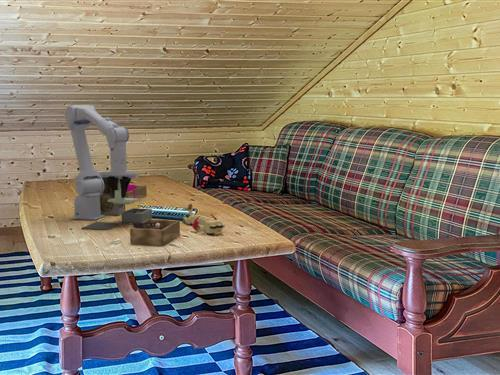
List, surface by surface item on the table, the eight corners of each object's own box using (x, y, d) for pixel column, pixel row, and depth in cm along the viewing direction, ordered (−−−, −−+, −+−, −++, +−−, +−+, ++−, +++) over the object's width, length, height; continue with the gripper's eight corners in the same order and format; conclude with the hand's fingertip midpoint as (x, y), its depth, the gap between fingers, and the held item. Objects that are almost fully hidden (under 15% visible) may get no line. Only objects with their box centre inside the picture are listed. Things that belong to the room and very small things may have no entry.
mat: (81, 229, 221) (81, 227, 221) (95, 222, 231) (95, 221, 231) (107, 230, 219) (107, 229, 218) (120, 223, 229) (120, 222, 229)
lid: (106, 203, 225) (106, 190, 225) (119, 201, 236) (119, 188, 235) (128, 204, 223) (128, 190, 223) (140, 202, 234) (140, 189, 234)
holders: (121, 248, 193) (120, 233, 192) (99, 196, 290) (98, 186, 290) (188, 243, 199) (188, 228, 198) (144, 194, 297) (144, 183, 296)
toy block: (115, 196, 288) (114, 181, 286) (128, 196, 290) (128, 180, 289) (121, 202, 274) (120, 185, 273) (135, 201, 276) (134, 184, 275)
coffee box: (126, 212, 251) (124, 173, 249) (118, 215, 245) (117, 175, 242) (105, 211, 253) (104, 172, 251) (98, 214, 247) (96, 174, 245)
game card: (132, 222, 200) (160, 222, 200) (134, 224, 205) (161, 224, 206) (132, 243, 199) (160, 242, 199) (134, 244, 204) (161, 244, 204)
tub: (121, 223, 230) (121, 212, 229) (132, 218, 240) (132, 208, 239) (141, 224, 228) (141, 213, 228) (151, 218, 238) (151, 208, 237)
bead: (134, 219, 235) (133, 212, 234) (137, 217, 237) (136, 210, 237) (140, 219, 234) (140, 212, 234) (143, 218, 237) (143, 210, 236)
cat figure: (177, 228, 228) (205, 236, 207) (175, 204, 228) (204, 210, 206) (201, 225, 233) (231, 232, 211) (200, 202, 233) (230, 207, 211)
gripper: (95, 161, 221) (96, 198, 223) (132, 162, 218) (134, 199, 220) (103, 159, 228) (105, 195, 230) (140, 159, 225) (141, 196, 227)
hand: (119, 197), depth 226 cm, fingers closed on lid, 2 cm apart
